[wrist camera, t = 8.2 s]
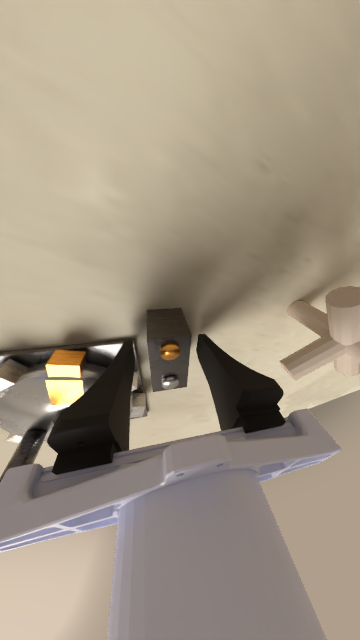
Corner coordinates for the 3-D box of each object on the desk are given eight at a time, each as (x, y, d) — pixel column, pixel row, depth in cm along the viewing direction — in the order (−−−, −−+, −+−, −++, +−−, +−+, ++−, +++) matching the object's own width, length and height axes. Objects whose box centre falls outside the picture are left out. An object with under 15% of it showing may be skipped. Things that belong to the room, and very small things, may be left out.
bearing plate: (-47, 356, 12) (-54, 361, 12) (133, 338, 15) (133, 342, 14) (38, 431, 20) (36, 436, 20) (147, 412, 22) (147, 415, 22)
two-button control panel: (146, 309, 13) (147, 342, 10) (180, 307, 14) (192, 337, 10) (151, 357, 17) (153, 395, 13) (178, 354, 17) (187, 389, 14)
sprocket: (-59, 401, 14) (-178, 509, 9) (68, 321, 12) (10, 400, 7) (79, 441, 22) (60, 507, 17) (167, 398, 20) (175, 458, 15)
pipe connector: (266, 355, 20) (350, 450, 12) (236, 306, 15) (350, 416, 7) (344, 309, 18) (511, 387, 10) (341, 232, 13) (707, 260, 4)
